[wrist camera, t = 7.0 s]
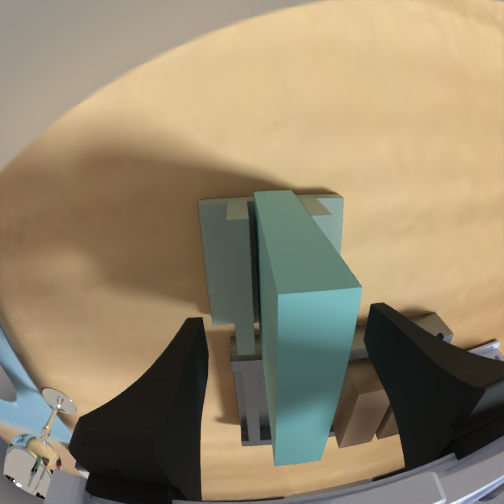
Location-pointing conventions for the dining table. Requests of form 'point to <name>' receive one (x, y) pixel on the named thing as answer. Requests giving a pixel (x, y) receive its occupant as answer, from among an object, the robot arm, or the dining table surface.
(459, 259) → the dining table surface
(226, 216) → the stand
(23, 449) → the wineglass
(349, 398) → the offcut
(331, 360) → the teal flat block
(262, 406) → the rack
